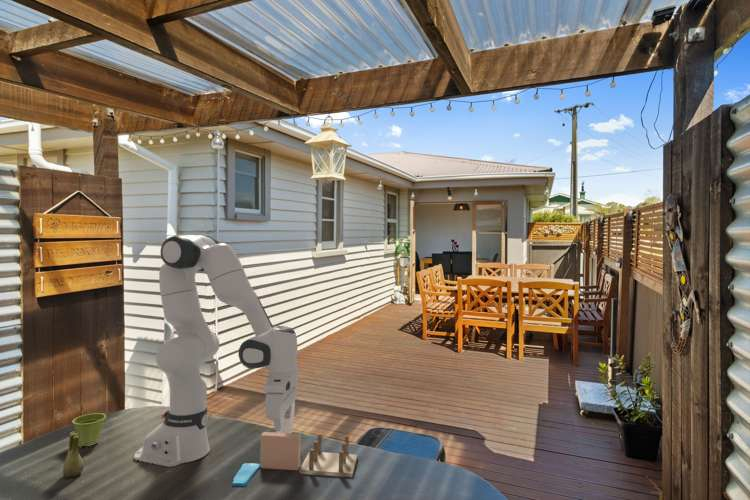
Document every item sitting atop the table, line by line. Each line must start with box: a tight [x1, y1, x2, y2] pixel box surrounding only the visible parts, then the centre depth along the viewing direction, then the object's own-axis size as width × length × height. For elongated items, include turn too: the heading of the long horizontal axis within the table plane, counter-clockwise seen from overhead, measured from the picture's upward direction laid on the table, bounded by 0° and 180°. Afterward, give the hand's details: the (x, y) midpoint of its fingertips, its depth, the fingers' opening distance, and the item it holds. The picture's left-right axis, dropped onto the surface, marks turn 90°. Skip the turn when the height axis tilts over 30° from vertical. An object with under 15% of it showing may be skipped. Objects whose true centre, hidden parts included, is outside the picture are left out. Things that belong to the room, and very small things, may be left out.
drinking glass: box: [275, 400, 296, 434], centre depth 145 cm, size 7×7×15 cm
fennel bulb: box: [62, 431, 85, 478], centre depth 121 cm, size 6×5×12 cm
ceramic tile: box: [259, 431, 302, 471], centre depth 128 cm, size 12×2×10 cm, turn 85°
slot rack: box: [298, 433, 358, 478], centre depth 130 cm, size 16×12×7 cm
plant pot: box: [71, 412, 107, 446], centre depth 141 cm, size 9×9×9 cm
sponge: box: [232, 462, 261, 487], centre depth 123 cm, size 2×12×6 cm
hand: (283, 423), depth 128 cm, fingers open, 8 cm apart
